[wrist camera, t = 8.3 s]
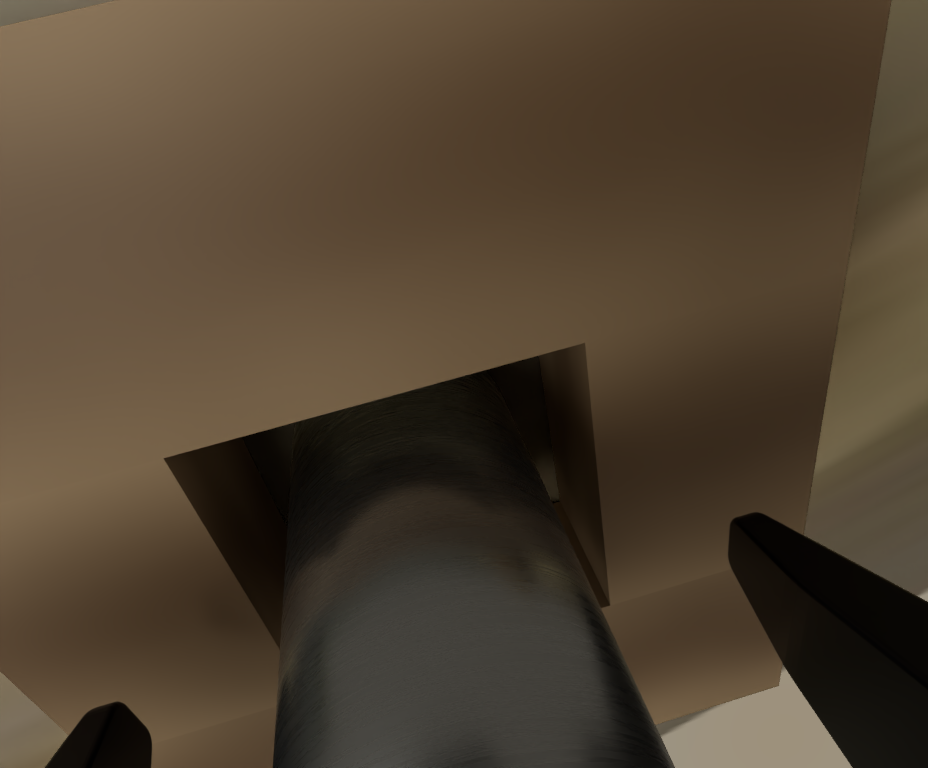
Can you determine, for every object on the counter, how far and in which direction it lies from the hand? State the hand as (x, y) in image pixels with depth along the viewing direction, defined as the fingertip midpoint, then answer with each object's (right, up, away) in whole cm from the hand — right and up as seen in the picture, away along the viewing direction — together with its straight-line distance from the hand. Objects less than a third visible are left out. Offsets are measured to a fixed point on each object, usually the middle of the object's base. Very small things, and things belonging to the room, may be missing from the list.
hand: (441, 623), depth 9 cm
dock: (-1, +2, +4) cm, 4 cm away
